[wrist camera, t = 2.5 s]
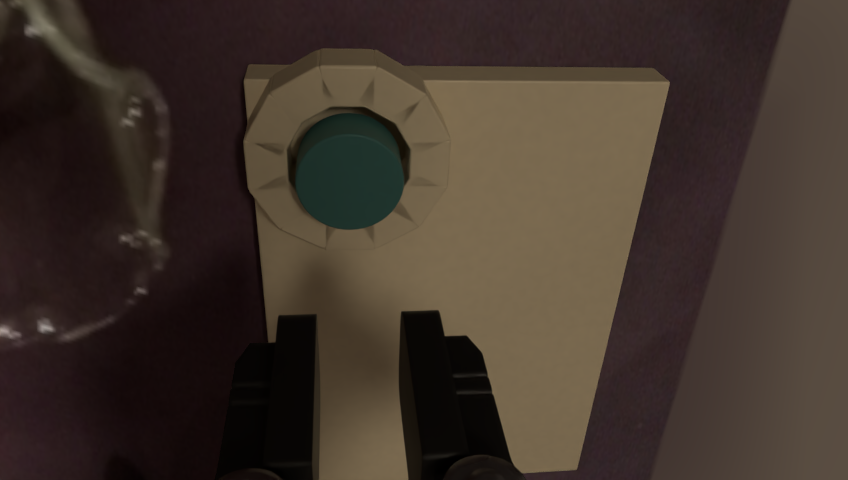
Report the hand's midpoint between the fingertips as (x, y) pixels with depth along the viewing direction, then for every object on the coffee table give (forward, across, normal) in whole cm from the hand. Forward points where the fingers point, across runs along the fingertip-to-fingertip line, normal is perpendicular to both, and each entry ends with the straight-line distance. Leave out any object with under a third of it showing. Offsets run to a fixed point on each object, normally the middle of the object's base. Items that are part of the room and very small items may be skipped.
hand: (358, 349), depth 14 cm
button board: (+11, -4, +7) cm, 14 cm away
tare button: (+8, 0, 0) cm, 8 cm away
